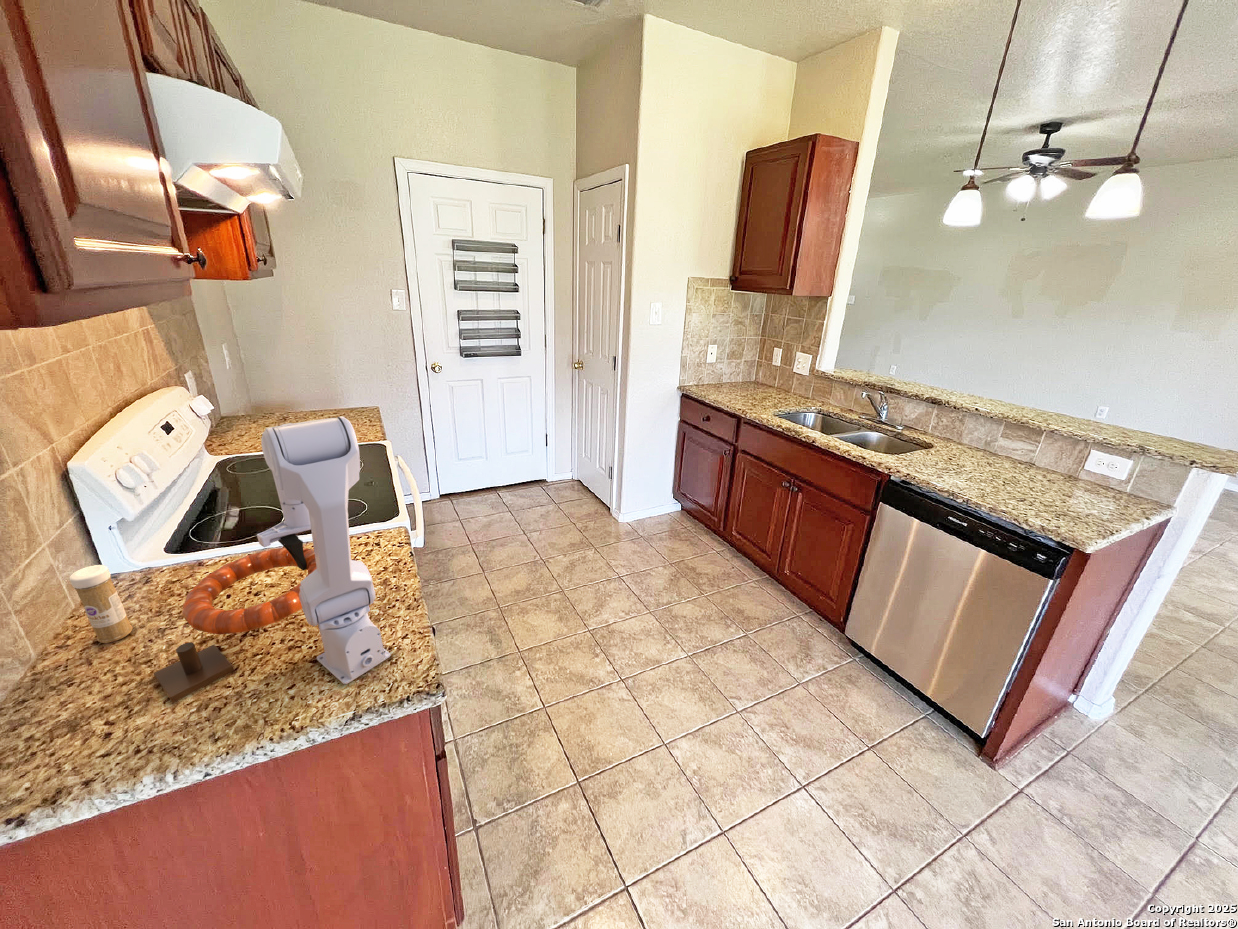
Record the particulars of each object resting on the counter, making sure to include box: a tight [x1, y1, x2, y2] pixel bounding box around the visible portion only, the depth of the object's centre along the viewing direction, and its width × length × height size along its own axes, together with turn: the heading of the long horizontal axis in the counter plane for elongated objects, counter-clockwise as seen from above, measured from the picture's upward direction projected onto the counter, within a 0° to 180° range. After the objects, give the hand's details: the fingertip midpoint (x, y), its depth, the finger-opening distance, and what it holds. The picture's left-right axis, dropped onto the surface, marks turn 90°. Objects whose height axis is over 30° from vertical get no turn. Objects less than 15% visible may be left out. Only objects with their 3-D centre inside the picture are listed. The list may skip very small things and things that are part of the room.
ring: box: [181, 547, 317, 635], centre depth 85 cm, size 21×21×4 cm
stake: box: [153, 641, 235, 704], centre depth 78 cm, size 8×8×6 cm
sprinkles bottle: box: [68, 564, 134, 644], centre depth 84 cm, size 5×5×13 cm
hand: (314, 563), depth 92 cm, fingers closed on ring, 3 cm apart
